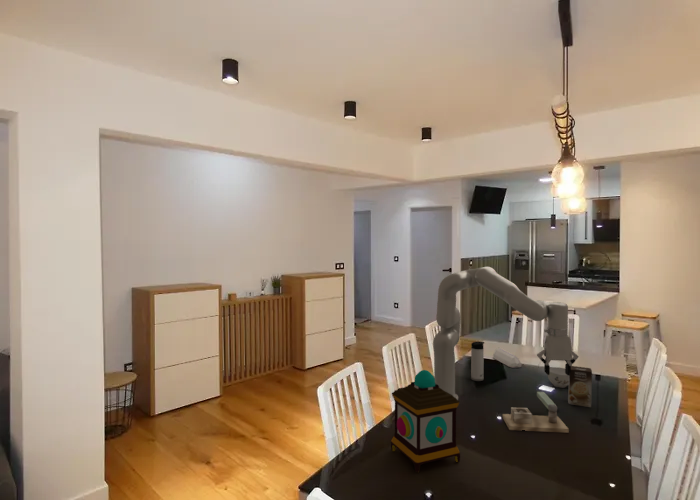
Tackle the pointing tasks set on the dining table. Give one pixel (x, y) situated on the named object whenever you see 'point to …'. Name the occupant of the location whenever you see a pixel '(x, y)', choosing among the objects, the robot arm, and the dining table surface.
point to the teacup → (558, 377)
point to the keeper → (547, 401)
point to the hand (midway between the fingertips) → (557, 373)
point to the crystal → (507, 358)
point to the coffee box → (580, 386)
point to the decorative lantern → (425, 421)
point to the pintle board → (538, 423)
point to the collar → (521, 415)
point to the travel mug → (477, 361)
